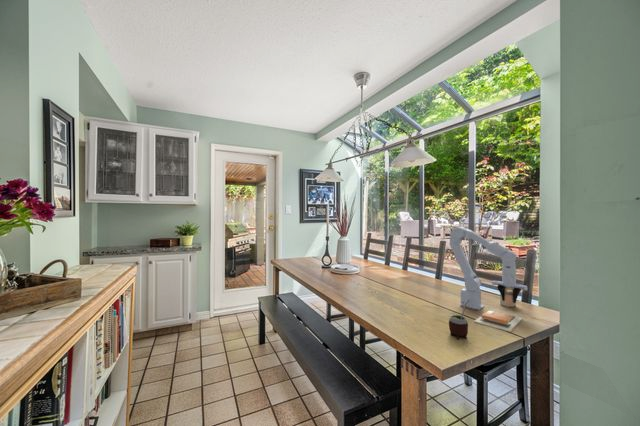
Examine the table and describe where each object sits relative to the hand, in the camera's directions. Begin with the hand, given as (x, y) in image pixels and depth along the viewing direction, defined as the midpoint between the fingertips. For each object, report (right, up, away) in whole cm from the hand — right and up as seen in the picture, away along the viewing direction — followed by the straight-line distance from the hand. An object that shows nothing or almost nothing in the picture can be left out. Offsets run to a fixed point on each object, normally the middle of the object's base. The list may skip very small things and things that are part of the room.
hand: (509, 301), depth 134 cm
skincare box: (+8, -6, +12) cm, 16 cm away
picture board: (-11, -6, -9) cm, 15 cm away
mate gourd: (-38, -7, -24) cm, 45 cm away
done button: (-15, -5, -12) cm, 20 cm away
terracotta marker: (0, -2, 0) cm, 2 cm away
